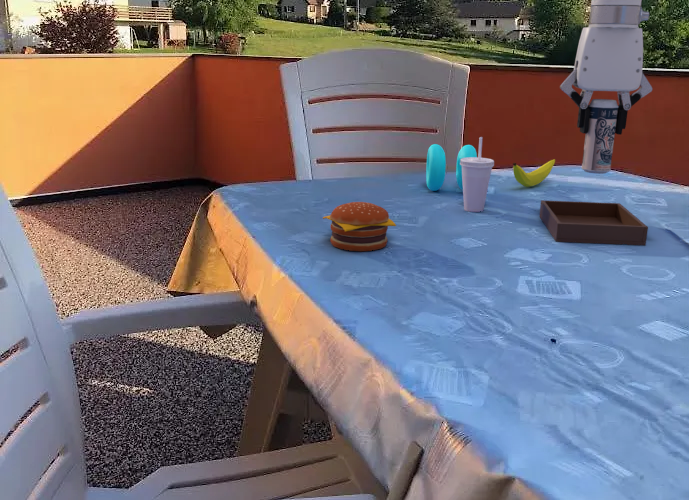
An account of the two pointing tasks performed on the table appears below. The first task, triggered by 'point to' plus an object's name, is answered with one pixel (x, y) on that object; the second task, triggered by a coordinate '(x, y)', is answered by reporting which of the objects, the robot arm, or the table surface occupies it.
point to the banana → (532, 174)
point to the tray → (592, 223)
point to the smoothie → (475, 180)
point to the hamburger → (359, 226)
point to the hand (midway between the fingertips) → (600, 131)
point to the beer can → (600, 136)
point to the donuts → (444, 165)
